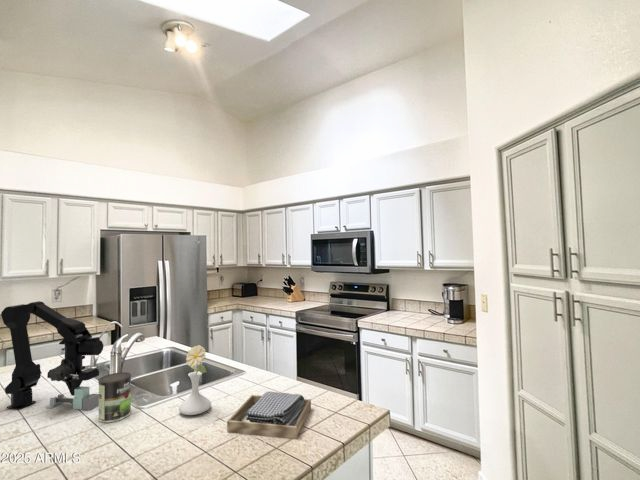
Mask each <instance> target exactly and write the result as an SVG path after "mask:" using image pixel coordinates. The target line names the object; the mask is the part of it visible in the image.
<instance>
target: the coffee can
mask: <svg viewBox="0 0 640 480" xmlns="http://www.w3.org/2000/svg"><path fill="white" fill-rule="evenodd" d="M131 378H132V374H131V373H130V372H127V371H125V372H122V371H121V372H114V373H109V374H106V375H104V376H101V377H100V378H99V379H98V381H97V382H98V394H99V406H98V418H97V419H98V422H100V423H104V424H106V423H109V424H110V423H114V422H118V421H122V420H123V419H126V418H127V417H129V416H130V415H131V412H132V411H131V401H132V399H131V397H132V395H131V393H132V392H131V391H132V390H131V387H132V385H131V384H132V380H131Z"/></svg>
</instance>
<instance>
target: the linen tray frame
mask: <svg viewBox="0 0 640 480" xmlns="http://www.w3.org/2000/svg"><path fill="white" fill-rule="evenodd" d="M261 396H262V395H258V394H257V395H256V394H251V395H250V396H249V398H248V399H247V400H246V401H245V402H243V404H242V405H241V406H240V407H239V408H238V409H237V410H236V411H235V412H234V414H232V416H230V418H228V420H227V421H226V427H227V428H226V430H227V431H226V432H227V433H233V434H245V435H254V436H264V437H272V438H281V439H282V438H284V439H295V440H297V438H298V437H299V435H300V433H301V430H302V429H303V426H304V425H305V422H306V420H307V418H308V416H309V415H310V412H311V411H312V410H311V409H312V399H310V398H304V402H303V404H304V409H303V411H302V413H301V415H300V417H299V419H298V420H297V422H296V424H295V426H287V425H276V424H266V423H255V422H250V421H242V420H241V419H242V418H243V417H244V416H245V415H247V411H248V410H249V409H250V408H251V407H252V406H253V405H254V404H255V403H256V402H257V401H258V400H259V399H260V397H261Z"/></svg>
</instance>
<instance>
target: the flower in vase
mask: <svg viewBox="0 0 640 480" xmlns="http://www.w3.org/2000/svg"><path fill="white" fill-rule="evenodd" d="M205 358H206V349H205V347H203V346H202V345H200V344H198V345H197V346H196V345H194V346H192V347H191V348H190V350H188V353H187V354H186V358H185V361H186V363H185V364H186V365H187V366H188V367H190V368H191V369H193V370H195V371H193V372H189V373H188V374H187V376H188V377H189V378H190V381H191V393H190V395H189V396H188V397H187V398H185V399H184V400H183V402H182V403H181V404H180V405H179V408H178V411H179V413H180V414H182V415H186V416H193V415H199V414H202V413H205V412H206V411H208V410H210V408H211V406H212V402H211V400H210V399H209V398H207V397H206V396H204V395H203V394H201V393H200V391H199V390H200V389H199V381H200V378H201V376H202V375H203V374H204V373H208V371H207V369H206V366H205V365H201V364H202V363H203V361H204V359H205ZM196 366H197V367H198V366H199V367H198V368H197V367H196Z"/></svg>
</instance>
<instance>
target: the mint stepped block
mask: <svg viewBox="0 0 640 480" xmlns="http://www.w3.org/2000/svg"><path fill="white" fill-rule="evenodd" d="M89 395H91V393H90V387H89V386H81V385H80V387H78V388H76V389H74V396H73V398H72V399H73V403H72V409H73V410H82V411H83V398H85V397H87V396H89Z"/></svg>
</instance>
